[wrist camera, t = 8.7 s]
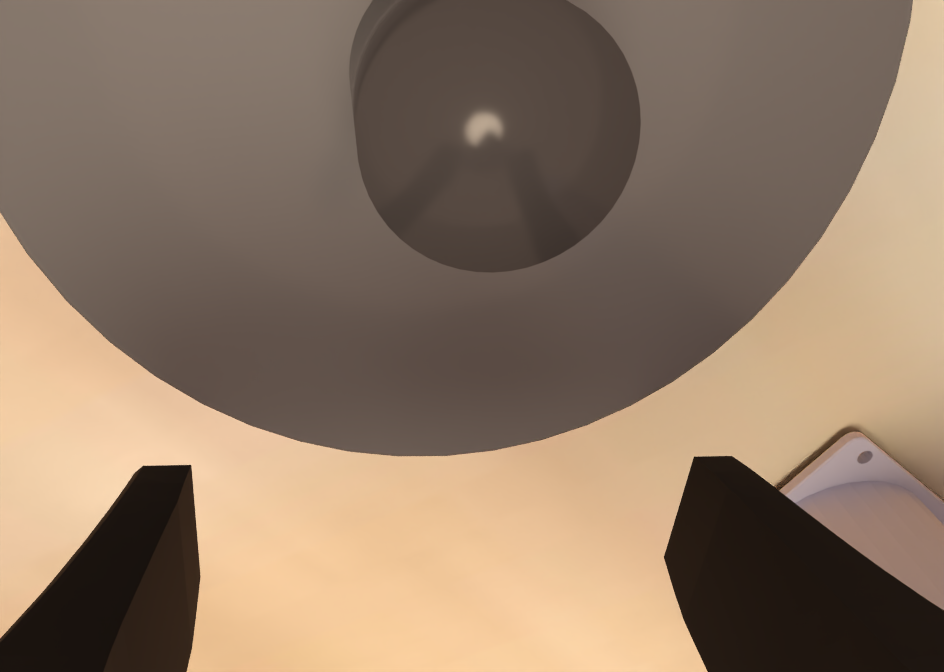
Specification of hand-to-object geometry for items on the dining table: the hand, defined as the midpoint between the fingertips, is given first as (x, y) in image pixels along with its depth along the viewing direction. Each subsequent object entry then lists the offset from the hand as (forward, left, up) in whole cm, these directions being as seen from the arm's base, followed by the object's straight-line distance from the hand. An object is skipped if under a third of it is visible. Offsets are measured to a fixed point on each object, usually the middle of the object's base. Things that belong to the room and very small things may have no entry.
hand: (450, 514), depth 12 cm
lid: (+3, -5, -3) cm, 6 cm away
